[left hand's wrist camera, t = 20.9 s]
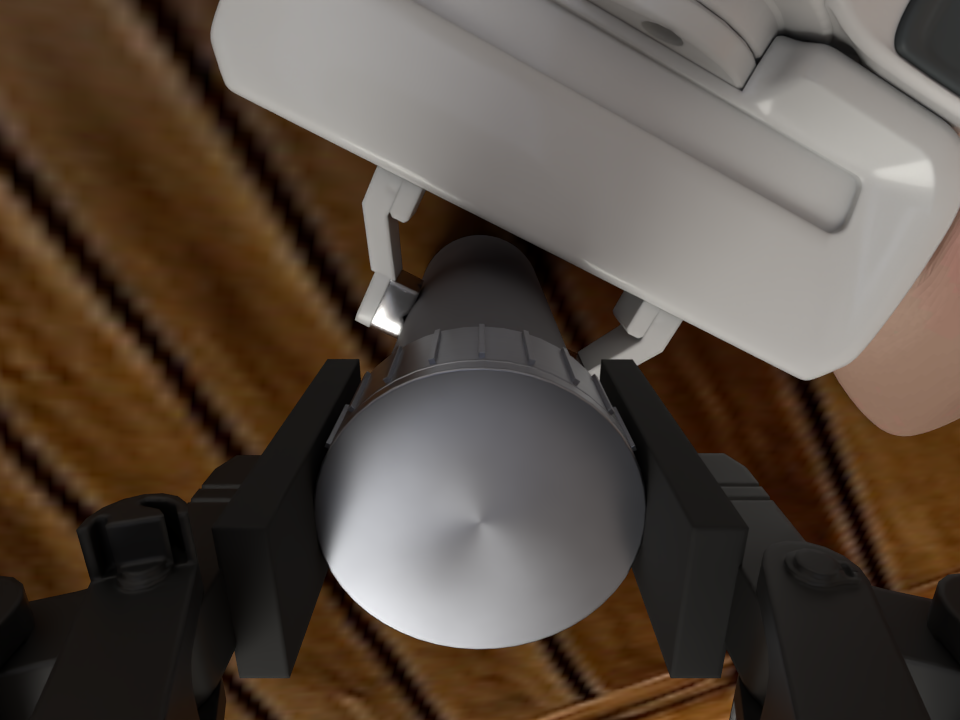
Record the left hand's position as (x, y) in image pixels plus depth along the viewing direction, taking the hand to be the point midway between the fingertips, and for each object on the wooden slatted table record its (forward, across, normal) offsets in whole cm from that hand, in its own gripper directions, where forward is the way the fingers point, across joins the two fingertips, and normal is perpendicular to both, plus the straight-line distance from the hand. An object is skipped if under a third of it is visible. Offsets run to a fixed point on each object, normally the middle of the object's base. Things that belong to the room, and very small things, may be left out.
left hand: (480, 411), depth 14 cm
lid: (-4, 0, 0) cm, 4 cm away
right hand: (+5, 0, -1) cm, 5 cm away
